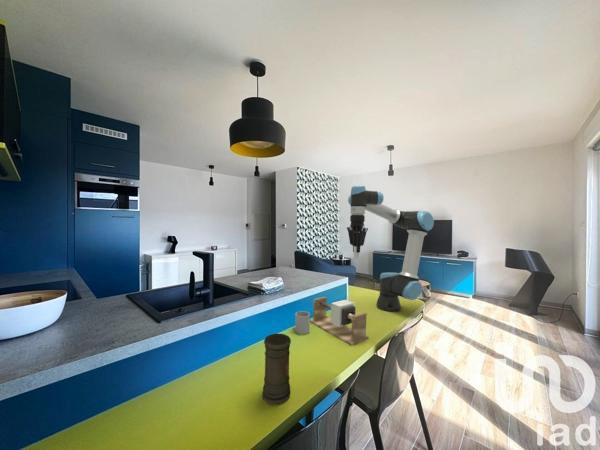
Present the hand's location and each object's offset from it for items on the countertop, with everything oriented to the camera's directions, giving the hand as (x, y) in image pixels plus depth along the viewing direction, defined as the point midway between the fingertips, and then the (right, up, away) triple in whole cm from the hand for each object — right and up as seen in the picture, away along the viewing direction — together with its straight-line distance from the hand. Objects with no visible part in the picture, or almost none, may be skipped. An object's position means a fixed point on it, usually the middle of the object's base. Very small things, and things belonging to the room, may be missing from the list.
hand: (356, 258), depth 131 cm
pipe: (-11, -28, -6) cm, 30 cm away
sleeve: (-9, -31, -8) cm, 34 cm away
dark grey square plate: (-7, -30, -12) cm, 33 cm away
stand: (-11, -36, -6) cm, 38 cm away
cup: (-30, -36, -7) cm, 47 cm away
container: (-38, -37, -53) cm, 75 cm away
